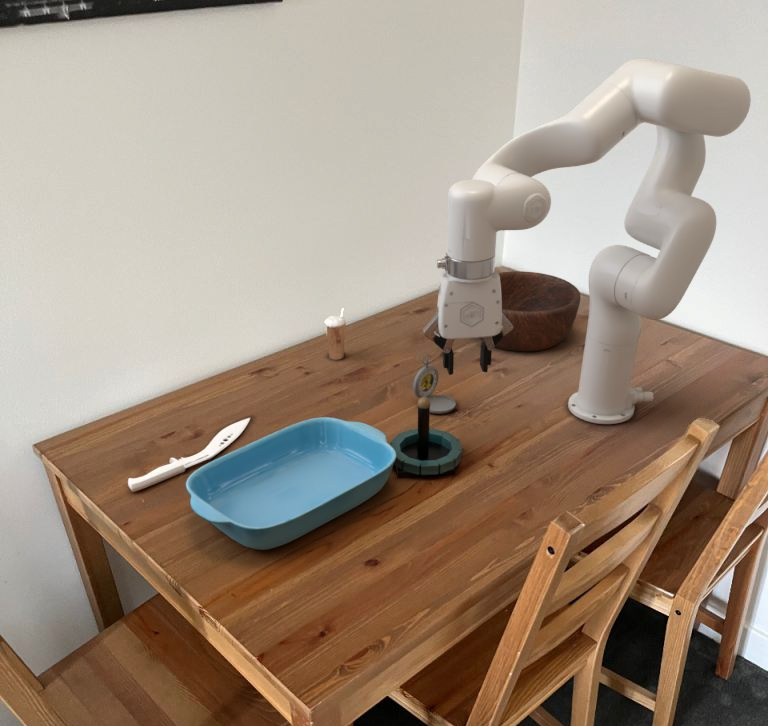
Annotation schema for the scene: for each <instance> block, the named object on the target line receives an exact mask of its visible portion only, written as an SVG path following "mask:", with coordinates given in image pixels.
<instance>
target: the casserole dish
mask: <svg viewBox="0 0 768 726" xmlns="http://www.w3.org/2000/svg"><path fill="white" fill-rule="evenodd" d="M395 460H396V452H395V450H394V449H393V447H392V446H390V443H388V441H387V436H386V434H385V433H384V432H383V431H381V430H380V429H377V427H374V426H371V425H370V424H368V423H364V422H360V421H350V420H349V421H347V420H344V419H340V418H336V417H328V416H327V417H325V416H323V417H313V418H308V419H306V420H303V421H299V422H297V423H294V424H291V425H289V426H287V427H283V428H281V429H279V430H277V431H275V432H273V433H270V434H268V435H266V436H263V437H261V438H259V439H257V440H255V441H253V442H251V443H248V444H246V445H244V446H241V447H240V448H239V447H238V448H237V449H235V450H233V451H230V452H227V454H225V455H222V456H220V457H218V458H216V459H214V460H212V461H210V462H208V463H206V464H204V465H202V466H201V467H199V468H198V469H196V470H194V471H193V472H192V473H191V474H190V475H189V476H188V478H187V479H186V482H185V489H186V490H187V493H188V494H189V496H190V503H189V504H190V508H191V510H192V511H193V512H194V513H195V514H196V515H197V516H199V517H200V518H201V519H203V520H205V521H207V522H209V523H210V524H212V525H213V526H214V527H215V528H217V529H218V530H219V531H220V532H222V533H223V534H225V535H226V536H227V537H229V539H232V540H233V541H235V542H237V543H238V544H240V545H242V546H243V547H245V548H249V549H251V550H258V551H266V550H271V549H275V548H278V547H281V546H283V545H286V544H288V543H291V542H292V541H295V540H297V539H299V538H301V537H303V536H305V535H306V534H308V533H310V532H312V531H314V530H316V529H317V528H319V527H321V526H323V525H325V524H327V523H328V522H330V521H332V520H334V519H337V518H338V517H340V516H341V515H343V514H346V513H347V512H349V511H350V510H353V509H354V508H356V507H358V506H359V505H361V504H363V503H365V502H366V501H368V500H370V499H371V498H372V497H373V496H375V495H376V494H377V493H378V492H380V491H381V490H382V489H383V487H384V486H385V485H386V482H387V481H388V479H389V477H390V474H391V472H392V470H393V466H394V465H395V464H394V462H395Z"/></svg>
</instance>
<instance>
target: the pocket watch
mask: <svg viewBox="0 0 768 726" xmlns="http://www.w3.org/2000/svg"><path fill="white" fill-rule="evenodd" d="M426 356H428V358H429V359H427V358H426V359H425V361H423V360H424V358H425V357H426ZM431 359H432V356H431V355H430V354H429V353H427V354H424V355H422V357H421V360H420V361H421V363H422V364H424V366H423V367H421V368H420V369H419V370H418V371H417V373H416V375H415V377H414V379H413V383H412V391H413V394H414V395H415V396H416V397H417V398H418V399H420V398H421V397H427V398H428V399H429V400H430V403H431V404H430V414H431V413H432V414H438V415H441V414H448V413H450V412H453V410H455V408H456V406H457V405H456V400H455V399H454V398H452V397H451V396H449V395H444V394H433V393H434V392H435V390H436V388H437V385H438V382H439V372H438V371H439V370H438V369H437V368H436V367H435V366H433V365H429V364H430V361H431Z"/></svg>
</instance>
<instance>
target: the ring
mask: <svg viewBox="0 0 768 726" xmlns="http://www.w3.org/2000/svg"><path fill="white" fill-rule="evenodd" d="M417 438H418V428H413V429H407V430H405V431H403V432H400V433H398V434H396V435H395V437H394V438H393V439H392V440H391V441H390V442H389V445H390V446H392V447H393V449H394V450H395V452H396V460H395V462H394V464H393V465H396V466H397V467H398V468H400V469H401V470H402V469H403V471H406V472H410V473H414V474H418V475H419V474H420V473H421V475H431V474H438V472H439V473H440V474H441V473H444V472H446V471H449V470H451V469H454V467H455V468H457V466H458V465H459V463H460V462H461V461H462V459H463V446H462V443H461V440H460V439H459V438H458V437H457V436H455V435H454V434H452V433H450V432H448V431H445V430H441V429H437V428H433V427H432V428H430V427H429V442H433V443H438V444H442V445H443V446H445V447H446V448H447V449H449V450H450V453H449V454H448V455H447V456H445V457H442V458H440V459H437V460H427V461H421V460H417V459H413V458H409V457H408V456H406V455H405V454H404V453H402V452H401V450H402V449H403V448H404V447H405V446H407V445H410V444H412V443H415V442H417ZM396 466H395V467H396Z"/></svg>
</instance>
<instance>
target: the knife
mask: <svg viewBox="0 0 768 726" xmlns="http://www.w3.org/2000/svg"><path fill="white" fill-rule="evenodd" d="M250 420H251V417H248V418H244V419H241V420H239V421H237V422H234V423H232V424H230V425H227V426H226V427H224V428H223V429H221V430H220V431H219V432H218V433H217V434H216V435H215V436H214V437H213V438H212V439H211V440H210V442H209V443H208V445H206V447H205V448H204V449H202V450H201V451H199V452H198V453H195V454H194V455H191V456H187V457H179V458H178V459H177V458H175V457H170V458H169V463H168V464H164V465H161V466H159V467H157V468H156V469H153V470H151V471H150V472H148V473H147V474H144V475H142V476H138V477H134V478H132V477H129V478H128V479H127V486H128V488H129V489H130V491H131V492H132V493H133V492H138V491H140V490H144V489H146V488H148V487H151V486H153V485H157V484H158V483H160V482H163V481H166V480H168V479H170V478H173V477H175V476H177V475H180V474H182V473H184V472H186V469H187V468H190V467H193V466H194V465H197V464H200V463H202V462H204V461H206V460H212V458H214V457H215V456H216V455H218V454H220V452H221V451H223V450H224V449H225V448H227V447H228V446H229V445H231V443H233V442H234V441H235V440H236V439H237V438H238V437H239V436H240V435H241V434H242V433H243V431H244V430H245V429H246V427H247V426H248V424H249V422H250Z"/></svg>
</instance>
